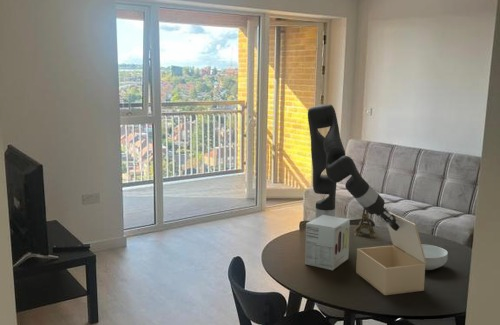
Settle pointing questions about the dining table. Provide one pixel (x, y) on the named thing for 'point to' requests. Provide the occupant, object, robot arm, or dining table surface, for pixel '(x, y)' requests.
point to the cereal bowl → (433, 256)
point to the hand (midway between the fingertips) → (397, 228)
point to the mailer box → (390, 270)
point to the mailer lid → (407, 238)
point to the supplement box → (327, 241)
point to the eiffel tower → (364, 225)
